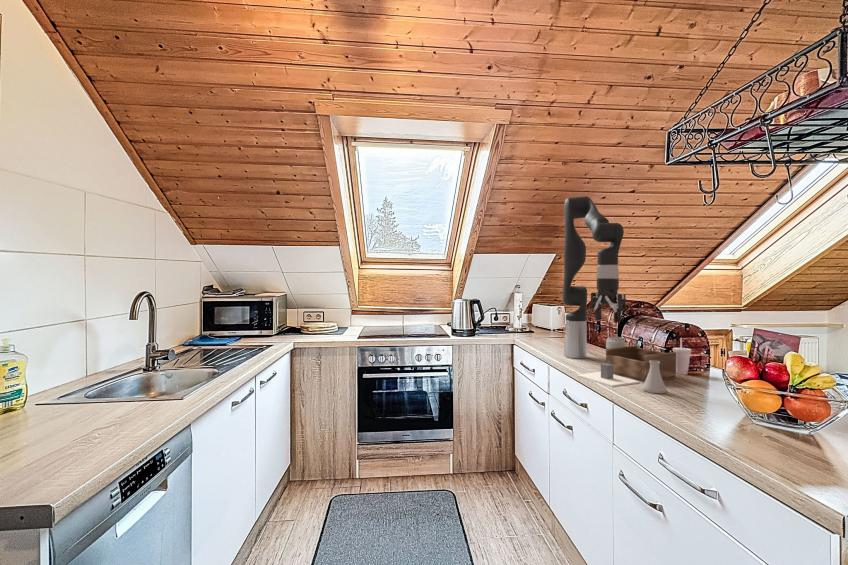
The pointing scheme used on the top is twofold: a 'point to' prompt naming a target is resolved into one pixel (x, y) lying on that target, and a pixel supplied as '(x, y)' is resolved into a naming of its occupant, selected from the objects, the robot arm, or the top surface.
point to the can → (615, 342)
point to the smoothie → (682, 359)
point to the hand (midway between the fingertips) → (607, 321)
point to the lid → (607, 377)
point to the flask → (654, 379)
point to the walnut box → (640, 362)
